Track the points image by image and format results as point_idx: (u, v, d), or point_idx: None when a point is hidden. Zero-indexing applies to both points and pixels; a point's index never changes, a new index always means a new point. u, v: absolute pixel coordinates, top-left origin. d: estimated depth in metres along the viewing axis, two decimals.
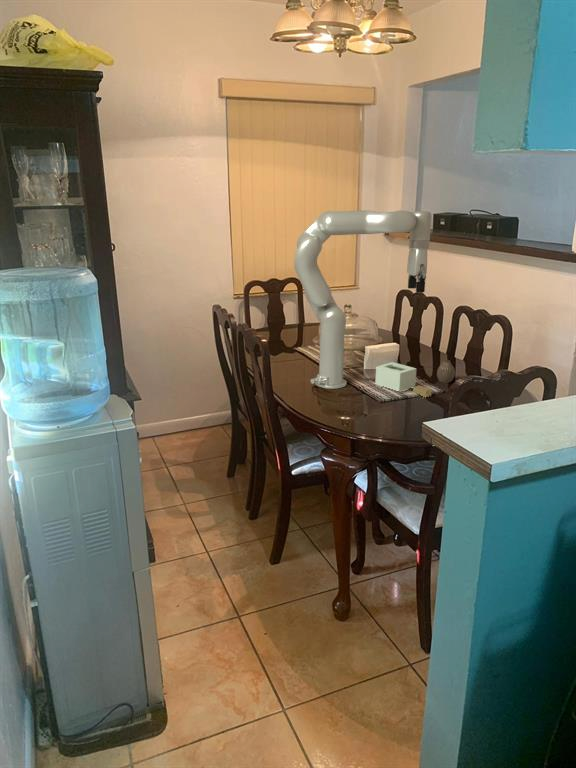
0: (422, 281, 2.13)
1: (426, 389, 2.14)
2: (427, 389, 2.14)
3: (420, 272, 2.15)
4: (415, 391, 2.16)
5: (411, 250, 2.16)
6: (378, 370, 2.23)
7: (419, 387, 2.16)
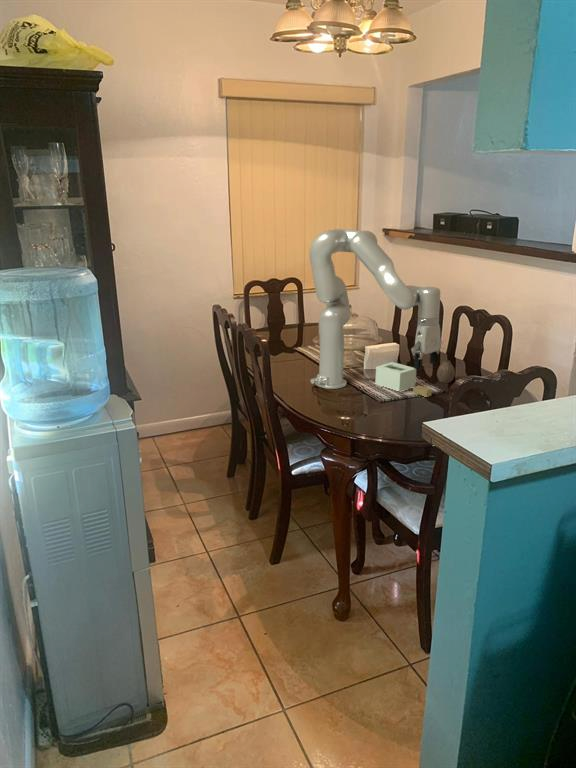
0: None
1: (426, 389, 2.14)
2: (427, 389, 2.14)
3: None
4: (415, 391, 2.16)
5: (433, 328, 2.05)
6: (378, 370, 2.23)
7: (419, 387, 2.16)
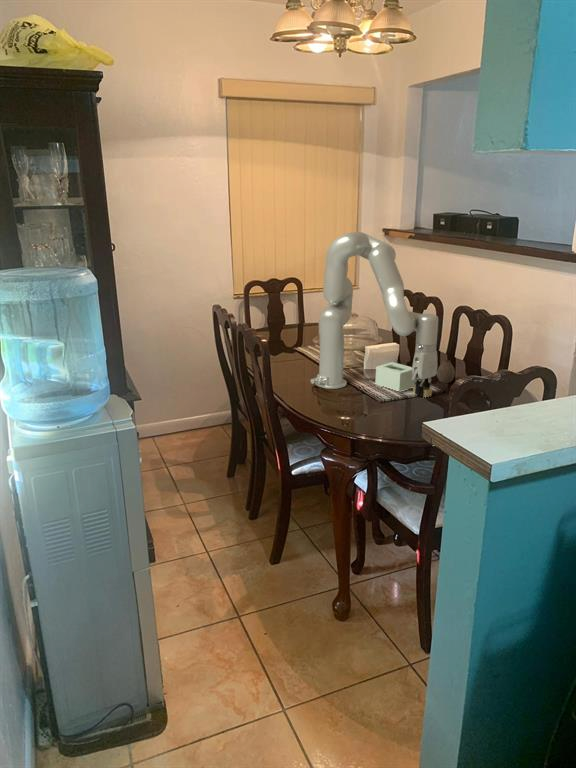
0: None
1: (426, 388, 2.14)
2: (427, 388, 2.13)
3: None
4: None
5: (430, 354, 2.08)
6: (378, 370, 2.23)
7: None
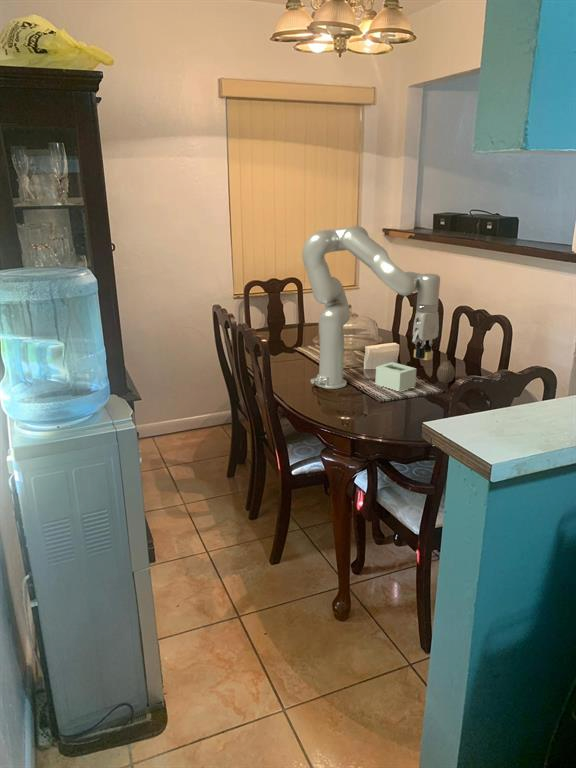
0: None
1: (427, 351, 2.10)
2: (428, 351, 2.09)
3: None
4: None
5: (431, 315, 2.04)
6: (378, 370, 2.23)
7: None
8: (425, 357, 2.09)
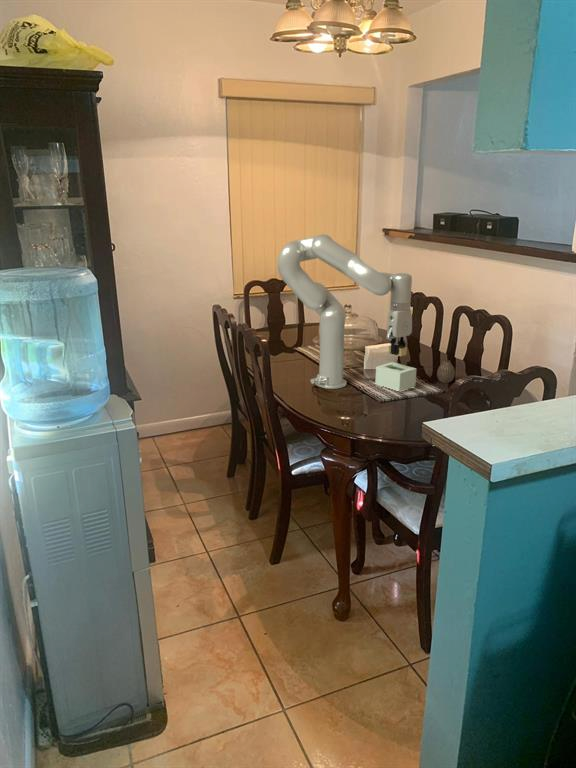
0: None
1: (401, 347, 2.19)
2: (402, 347, 2.19)
3: None
4: None
5: (404, 313, 2.13)
6: (378, 370, 2.23)
7: None
8: (399, 353, 2.18)
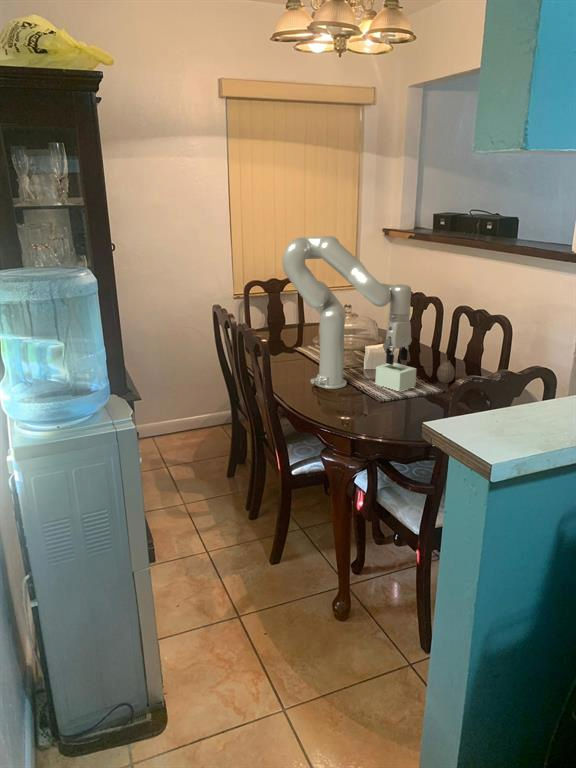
0: None
1: None
2: None
3: None
4: None
5: (403, 324, 2.15)
6: (378, 370, 2.23)
7: None
8: None
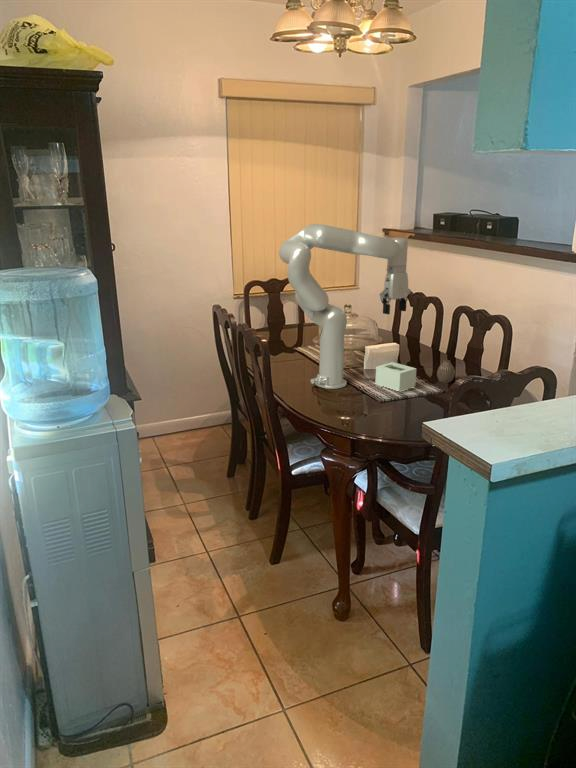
0: None
1: None
2: None
3: None
4: None
5: (400, 275, 2.23)
6: (378, 370, 2.23)
7: None
8: None
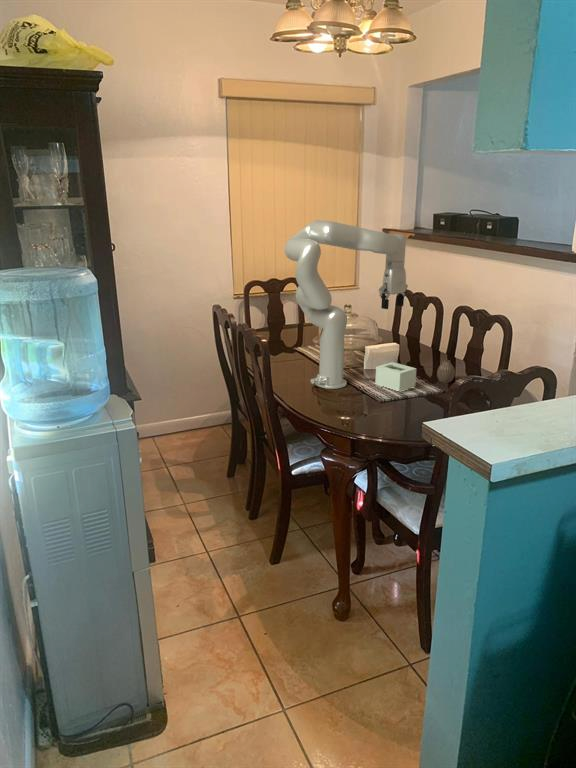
0: None
1: None
2: None
3: None
4: None
5: (398, 271, 2.27)
6: (378, 370, 2.23)
7: None
8: None
